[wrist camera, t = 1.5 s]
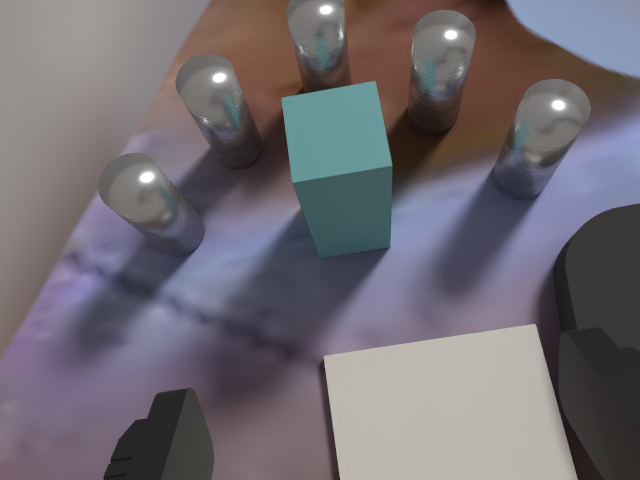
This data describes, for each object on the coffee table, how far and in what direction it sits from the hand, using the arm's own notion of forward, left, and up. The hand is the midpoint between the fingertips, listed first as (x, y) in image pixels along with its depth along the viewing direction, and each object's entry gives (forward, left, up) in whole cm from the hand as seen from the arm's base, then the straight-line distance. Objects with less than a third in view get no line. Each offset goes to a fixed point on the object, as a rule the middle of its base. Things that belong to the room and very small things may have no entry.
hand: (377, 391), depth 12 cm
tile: (-3, +2, -17) cm, 17 cm away
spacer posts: (0, -16, -17) cm, 23 cm away
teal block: (0, -11, -17) cm, 20 cm away
